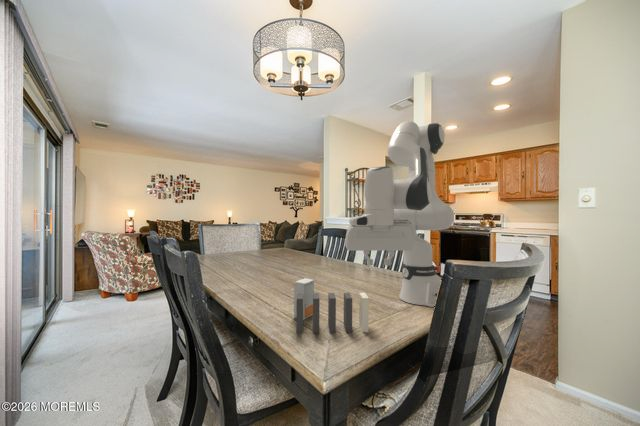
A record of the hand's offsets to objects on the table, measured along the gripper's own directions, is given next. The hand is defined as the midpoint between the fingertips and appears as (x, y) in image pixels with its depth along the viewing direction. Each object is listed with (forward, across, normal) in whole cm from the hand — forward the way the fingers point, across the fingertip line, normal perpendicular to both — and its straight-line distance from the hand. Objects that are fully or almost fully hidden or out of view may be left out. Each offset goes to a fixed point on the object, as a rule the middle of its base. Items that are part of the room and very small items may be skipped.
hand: (378, 265), depth 77 cm
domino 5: (+19, +4, 0) cm, 20 cm away
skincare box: (+19, +23, -10) cm, 31 cm away
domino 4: (+19, +9, 0) cm, 21 cm away
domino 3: (+19, +14, 0) cm, 24 cm away
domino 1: (+19, +24, 0) cm, 31 cm away
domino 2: (+19, +19, 0) cm, 27 cm away
